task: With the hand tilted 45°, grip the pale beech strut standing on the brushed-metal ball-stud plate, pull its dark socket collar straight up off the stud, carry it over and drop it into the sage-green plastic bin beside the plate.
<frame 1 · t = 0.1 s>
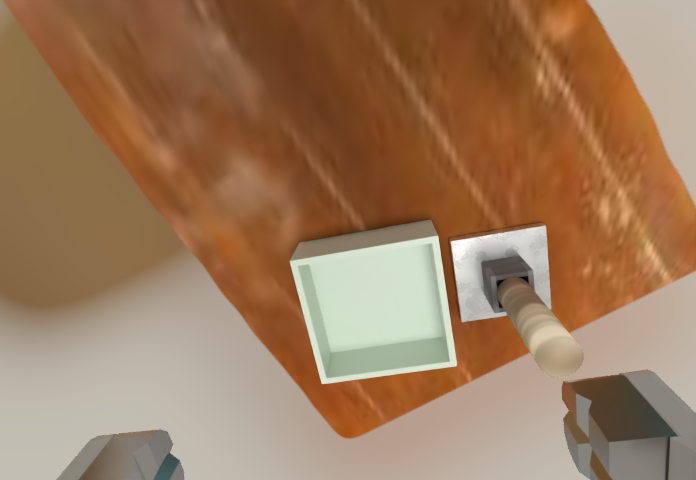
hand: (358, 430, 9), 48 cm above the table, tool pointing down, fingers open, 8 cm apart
strut: (502, 275, 57), point 1 cm above the table, touching stud plate
bin: (375, 291, 60), on the table
stud plate: (498, 271, 58), on the table
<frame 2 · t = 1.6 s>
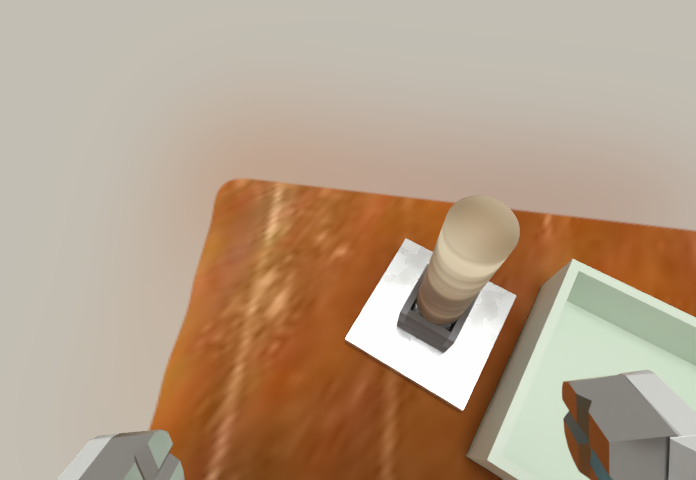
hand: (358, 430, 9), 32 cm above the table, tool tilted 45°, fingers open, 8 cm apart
strut: (431, 316, 41), point 1 cm above the table, touching stud plate
bin: (603, 418, 38), on the table
stud plate: (429, 320, 42), on the table
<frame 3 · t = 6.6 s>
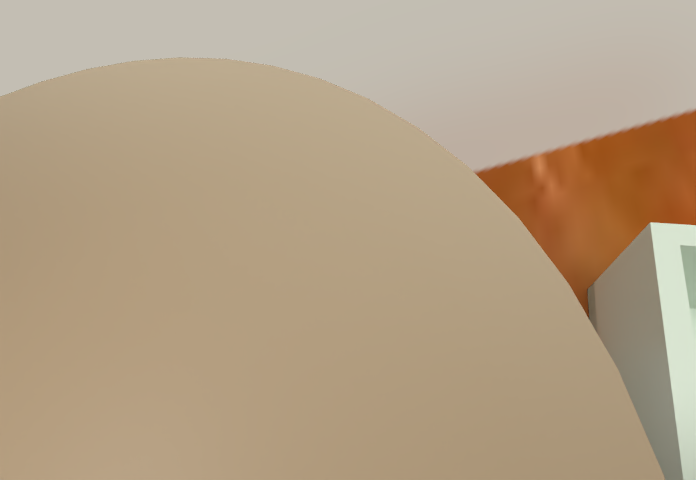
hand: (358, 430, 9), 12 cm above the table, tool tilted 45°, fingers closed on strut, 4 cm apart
strut: (401, 458, 18), point 2 cm above the table, touching gripper, stud plate
when the fingers open (14 cm above the table, at t = 12.7 s): strut drops 2 cm, resting on bin.
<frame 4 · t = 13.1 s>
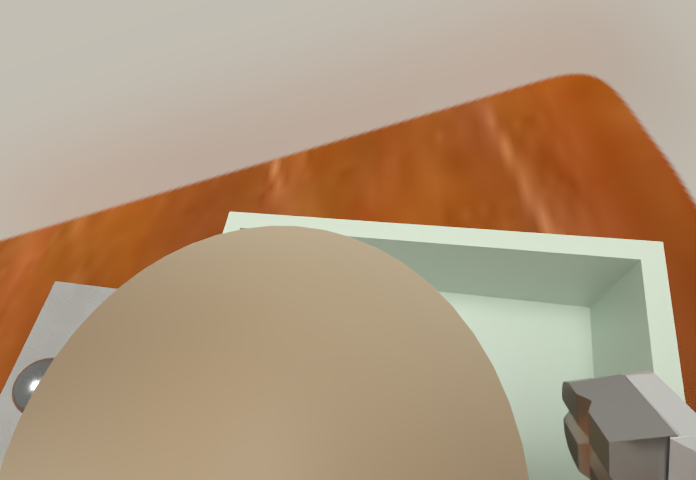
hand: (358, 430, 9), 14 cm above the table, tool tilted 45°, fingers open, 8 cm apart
strut: (405, 454, 20), point 1 cm above the table, touching bin
bin: (405, 456, 21), on the table
stud plate: (112, 397, 25), on the table
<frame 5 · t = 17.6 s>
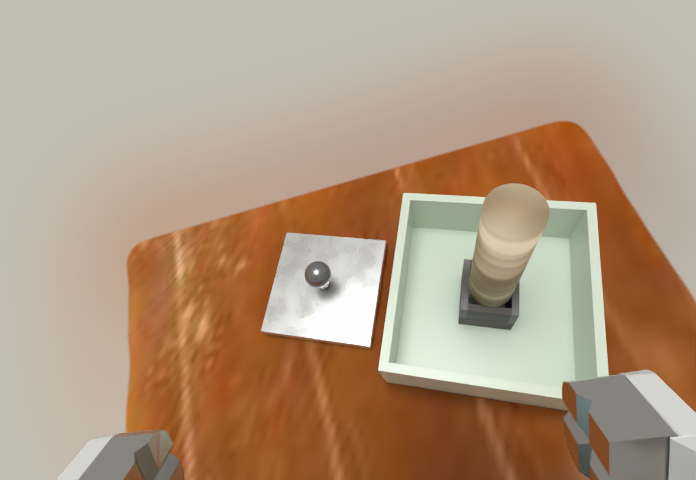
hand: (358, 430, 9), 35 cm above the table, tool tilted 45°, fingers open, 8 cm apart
strut: (485, 303, 44), point 1 cm above the table, touching bin
bin: (483, 306, 45), on the table
stud plate: (327, 289, 49), on the table
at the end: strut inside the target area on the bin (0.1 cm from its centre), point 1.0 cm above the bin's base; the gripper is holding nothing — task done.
